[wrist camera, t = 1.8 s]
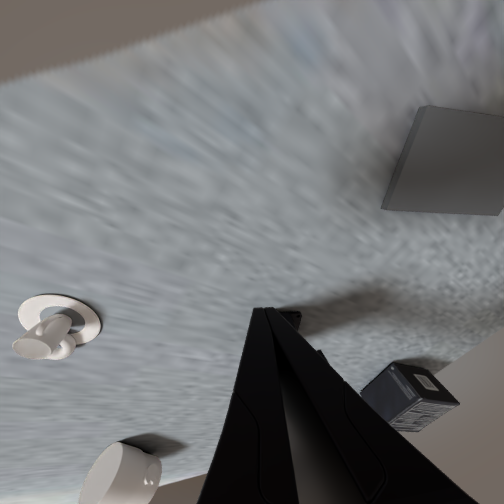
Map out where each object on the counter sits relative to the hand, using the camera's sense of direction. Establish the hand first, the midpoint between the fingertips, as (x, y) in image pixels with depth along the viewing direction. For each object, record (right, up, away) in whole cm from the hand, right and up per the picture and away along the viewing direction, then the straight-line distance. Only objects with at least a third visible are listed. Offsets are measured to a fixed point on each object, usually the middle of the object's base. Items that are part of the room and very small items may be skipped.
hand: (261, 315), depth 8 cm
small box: (+31, -21, +26) cm, 46 cm away
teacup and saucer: (-26, -6, +15) cm, 30 cm away
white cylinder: (-26, -38, +31) cm, 55 cm away
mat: (+22, +11, +12) cm, 27 cm away
